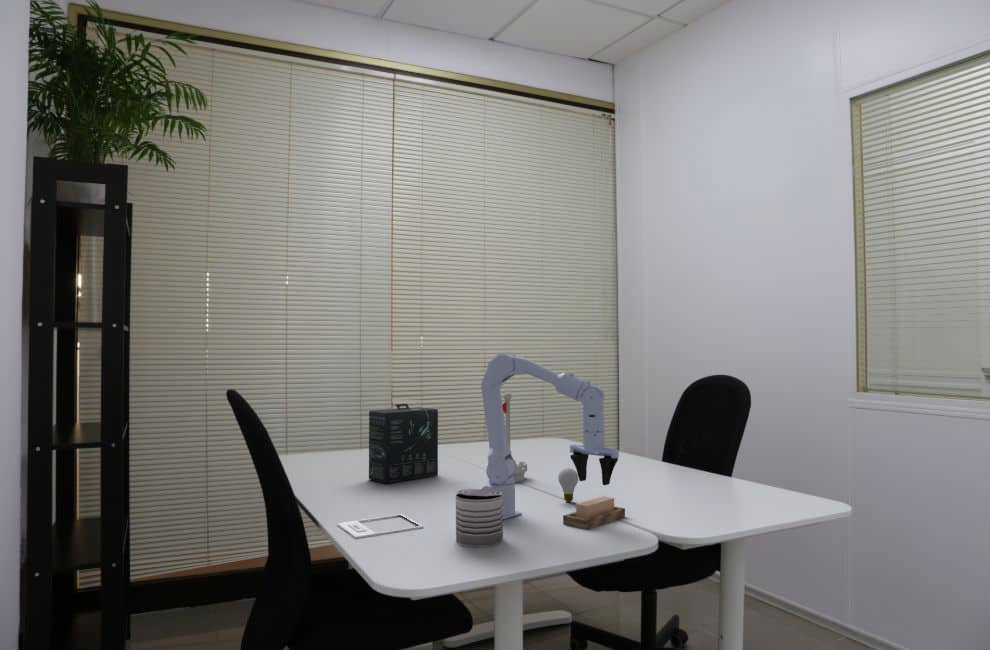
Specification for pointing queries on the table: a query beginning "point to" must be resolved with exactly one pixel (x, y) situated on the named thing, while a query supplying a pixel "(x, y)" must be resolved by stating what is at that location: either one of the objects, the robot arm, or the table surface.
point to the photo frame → (362, 531)
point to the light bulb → (568, 482)
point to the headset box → (403, 444)
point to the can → (479, 518)
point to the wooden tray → (593, 518)
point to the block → (594, 507)
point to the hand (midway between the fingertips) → (594, 482)
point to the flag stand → (522, 466)
